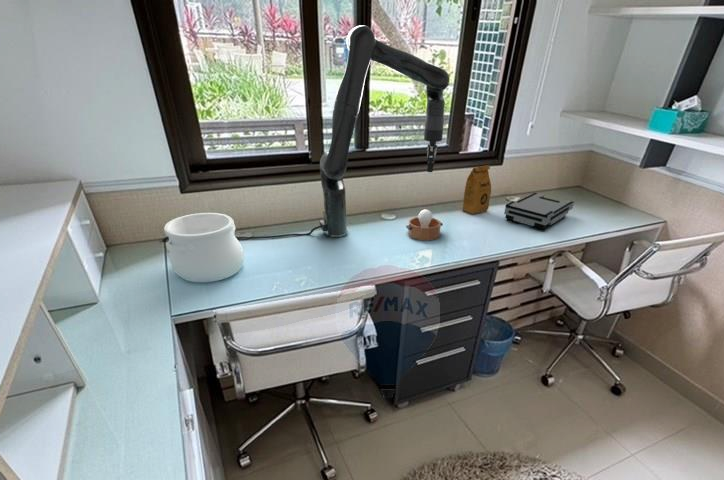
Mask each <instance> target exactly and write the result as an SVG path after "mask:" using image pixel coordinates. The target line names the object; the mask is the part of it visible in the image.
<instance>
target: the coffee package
mask: <svg viewBox="0 0 724 480" xmlns="http://www.w3.org/2000/svg"><path fill="white" fill-rule="evenodd" d="M490 169H491V166H490V164H488V165H483V166H482V165H481V166H476V167H473V168H472V170H471V171H470V173H469V175H468V176H467V178H466V182H465V187H464V192H463V199H462V200H463V201H462V209H461V210H462V212H466V213H469V214H472V215H474V214H479V213H483V212H487V211H488V210H489V207H490V200H491V194H492V183H491V178H490V173H489V170H490Z"/></svg>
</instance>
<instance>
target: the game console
mask: <svg viewBox="0 0 724 480" xmlns="http://www.w3.org/2000/svg"><path fill="white" fill-rule="evenodd" d="M574 204H575V201H572V200H568V199H562V200H557V199H552V198H548V197H545V194H542V193H538V192H534V193H531V194H529V195H527V196H525V197H523V198H521V199H518V200H517V201H511V202H508V203H506V204H505V208H504V212H503V213H504V214H503V215H505V218H504V219H506V221H507V222H509V223H513V224H515V225H516V224H520V223H521V224H525V225H528V226H531V229H535V230H538V231H542V232H545V231H546V230H548V229H551V228H552V227H553V226H554V225H556V224H557V223H559V222H561V221H563V220H564V219H565V218H566V216H567V214H568V213H569V212H570V211H571V210H572V209H573V208H574Z"/></svg>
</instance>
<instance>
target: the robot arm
mask: <svg viewBox="0 0 724 480" xmlns="http://www.w3.org/2000/svg"><path fill="white" fill-rule="evenodd" d="M346 47H347V49H348V55H347V62H346V66H345V67H346V68H345V71H344V74H343V76H342V79H341V81H340V84H339V87H338V89H337V92H336V95H335V100H334V105H333V110H332V115H331V116H332V118H331V139H330V140H331V141H330V146H329V149H328V151H326V152H324V153H323V154H322V156H321V158H320V160H319V173H320V183H321V189H322V195H323V212H322V216H323V219H322V220H319V225H317V226H314V228H312V229H311V230H310V231H309V232H306V233H285V234H284V233H283V234H276V235H263V236H261V235H260V236H235V237H236V239H237V240H247V239H248V240H256V239H274V238H281V237H282V238H283V237H290V236H291V237H293V236H298V237H299V236H309V235H311V234H312V233H314V231H315V230H317V229H321V231H322V232H324V233H325V235H326V236H327V237H328V238H342V237H346V235H347V234H348V228H347V227H348V226H347V225H348V223H347V200H346V199H347V198H346V197H347V196H346V186H345V183H344V175H345V174H346V171H347V166H348V159H349V152H350V145H351V143H352V138H353V135H354V131H355V127H356V123H357V120H358V116H359V112H360V107H361V103H362V98H363V93H364V88H365V87H364V86H365V81H366V77H367V73H368V71H369V68H370V67H369V66H370V63H371V61H372V62H374V63H378V64H380V65H383V66H384V67H387V68H389V69H390V70H392V71H394V72H396V73H398V74H400V75H401V76H404V77H406V78H408V79H410V80H412V81H415V82H419V83H421V84H424V85H425V86H426V87H425V88H426V89H425V90H426V112H425V120H424V129H423V130H424V132H423V140H424V141H425V142H429V144H427V147H426V151H427V152H426V157H427V160H426V161H427V170H426V171H427V173H433V171H434V166H435V165H434V164H435V159H436V155H437V150H438V144H437V143H438V142H439V143H440V142H441V141H442V140H443V134H444V126H445V105H446V102H445V99H444V90H446V89H447V88H448V87H449V85H450V75H449V73H448V71H447V70H445V69H444V68H441V67H439V66H438V65H437V66H436V65H434V64H432V63H428V62H427V61H425V60H424V59H422V58H420V57H418V56H416V55H414V54H412V53H409V52H407V51H404V50H402V49H399V48H395V47H393V46H391V45H388V44H386V43H384V42H382V41H381V40H379V39H378V38H376V36H375V33H374V32H373V30H372V29H371V28H370V27H369V26H368V25H357V26H355V27H353V28H352V29H351V30H350V31H349V32H348V34H347V37H346ZM166 240H169V237H168V236H165V237H163V239H162V242H166Z"/></svg>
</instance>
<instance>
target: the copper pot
mask: <svg viewBox="0 0 724 480" xmlns="http://www.w3.org/2000/svg"><path fill="white" fill-rule="evenodd" d="M443 224H444V223H443V222H441V221H440V220H438V219H437V218H434V217H432V220H431V222H430V223H429V226H428V228H423V227H421V224H420V221H419V219H418V216H415V217H413V218H410V219H409V220H408V225H405V227H406V229H407V230H408V231H407V232H408V236H409V237H410V238H412V239H414V240H419V241H433V240H436V239H439V237H440V236H441V228H442V226H443Z"/></svg>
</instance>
